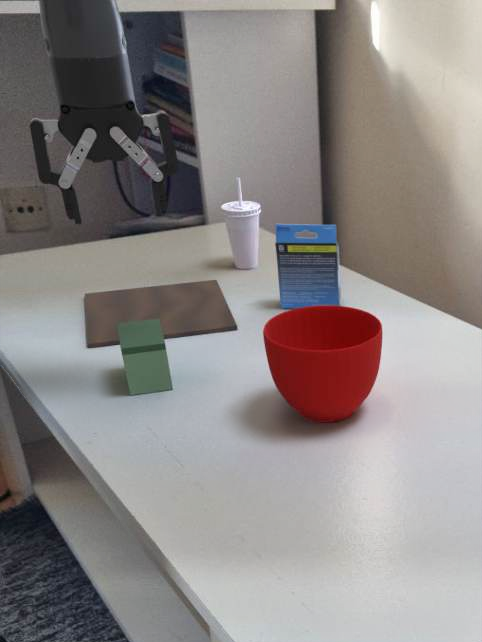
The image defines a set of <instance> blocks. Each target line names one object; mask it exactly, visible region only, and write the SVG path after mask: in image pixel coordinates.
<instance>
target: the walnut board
mask: <svg viewBox="0 0 482 642" xmlns="http://www.w3.org/2000/svg"><path fill="white" fill-rule="evenodd" d="M84 302H85V303H84V307H85V321H86V322H85V324H86V325H85V326H86V344H87V348H88V349H91V348H99V347H107V346H115V345H120V339H119V331H118V323H125V322H134V321H142V320H151V319H159V321H160V325H161V329H162V333H163V337H164V340H165V339H173V338H182V337H190V336H198V335H204V334H213V333H223V332H229V331H237V330H239V329H238V325H237V322H236V320H235V318H234V315H233V313H232V311H231V309H230V307H229V305H228V302H227V299H226V297H225V295H224V293H223V291H222V289H221V286H220V285H219V281H218V280H217V279H210V280H200V281H199V280H197V281H190V282H180V283H171V284H162V285H161V284H160V285H152V286H143V287H142V286H141V287H134V288H126V289H125V288H124V289H115V290H105V291H96V292H95V291H94V292H88V293H84Z"/></svg>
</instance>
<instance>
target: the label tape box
mask: <svg viewBox="0 0 482 642" xmlns="http://www.w3.org/2000/svg"><path fill="white" fill-rule="evenodd" d="M274 228H275V229H274V231H275V232H274V233H275V243H274V244H275V254H276V264H277V266H276V267H277V276H278V277H277V278H278V279H277V280H278V291H279V303H280V308H281V309H284V310H285V309H287V310H293V309H297V308H302V307H308V306H321V305H333V306H341V300H342V299H341V297H342V296H341V295H342V289H341V263H340V262H341V261H340V247H339V243H338V242H337V224H310V223H309V224H307V223H306V224H303V223H274ZM304 232H307V233H308V234H314V235H315V237H301V236H300V237H298V236H296V234H303V233H304Z"/></svg>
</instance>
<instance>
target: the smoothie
mask: <svg viewBox="0 0 482 642" xmlns="http://www.w3.org/2000/svg"><path fill="white" fill-rule="evenodd" d="M235 180H236V187H237V189H236V190H237V198H238V200H235V201H229V202H226V203H224V204H222V205H221V206H220V211H221V212H220V214H221V215H222V216H223V218H224V223H225V227H226V232H227V237H228V239H229V244H230V248H231V252H232V253H231V254H232V257H233V261H234V265H235V268H236V269H239V270H252V269H255V268H257V267H258V266H259V237H260V236H259V235H260V234H259V232H260V214H261V213H262V209H261V204H260V203H259V202H256V201H252V200H243V195H242V185H241V178H240V177H236V179H235Z"/></svg>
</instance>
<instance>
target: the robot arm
mask: <svg viewBox="0 0 482 642" xmlns="http://www.w3.org/2000/svg"><path fill="white" fill-rule="evenodd" d="M38 3H39V4H38V6H39V14H40V15H39V16H40V24H41V30H42V35H43V45H44V48H45V50H46V53H47V58H48V63H49V68H50V72H51V76H52V82H53V86H54V91H55V96H56V100H57V104H58V105H57V106H58V109H59V115H58V117H57V119H43V118H40V117H38V116H34V117H32V118H31V120H30V122H29V130H30V135H31V140H32V141H31V142H32V146H33V153H34V158H35V163H36V168H37V175H38V179H39V181H40V183H41V184H43V185H53V186H56V187H57V188H59V191H60V192H61V196H62V200H63V203H64V209H65V214H66V216H67V218H68V219H69V220H74V224H75V225H76V226H78V225H83V218H82V212H81V208H80V203H79V200H78V199H79V198H78V194H77V190H76V184H73V182H74V180H75V179H76V176H77V175H78V172H79V171H80V169H81V168H82V166H83V163H84V162H85V160H87V161H89V162H92V163H93V164H97V163H103V162H105V161H113V162H124V161H125V159H127V158H129V157H130V158H131V159H132V160H133V161H134V162H135V163H136V164H137V165H138V166H139V167H140V168H142V170H143V171H144V172H145V173H146V174H147V175H148V176H149V177H150V178H149V185H150V191H151V199H152V203H153V210H154V214H155V217H156V218H163V216H164V215H163V212H166V211H168V201H167V194H166V187H165V186H166V185H165V180H166V179H167V178H168V177H169V176H172V175H176V174H178V173H179V171H180V166H179V165H180V164H179V161H178V156H177V150H176V145H175V140H174V135H173V131H172V126H171V121H170V117H169V116H168V114H167V112H166V111H165V110H163V109H158V110H157V111H156V112H154V113H146V114H142V113H140V112H139V109H138V108H137V103H136V97H135V92H134V86H133V80H132V74H131V68H130V67H131V66H130V62H129V61H130V60H129V56H128V50H127V46H128V44H127V39H126V37H125V31H124V26H123V21H122V17H121V13H120V10H119V7H118V3H117V0H38ZM144 127H148V128H149V129H150V131H151V133H152V134H153V135H154V136H155V137H159V139H160V144H161V149H162V153H163V154H162V155H163V159H164V161H162V162H159V163H158V164H157V163H156V162H155V161H154V160H153V159H152V157H151V156H149V154H148V153H147V151H146V150H145V149H144V148H142V146H141V145H140V144H139V143H138V140H139V138H140V136H141V134H142V132H143V131H144ZM56 132H59V133H60V135H61V136H62V137H63V138H65V139H66V141H67V142H68V143H69V144H70V145H71V146H72V147H71V149H70V150H69V151H70V152H69V153H68V155H67V157H66V160H65V162H64V164H63V166H62V168H61V170H60V171H59V170H56V169H52V167H51V161H50V155H49V149H48V144H50V143H52V142H53V140H54V136H55V133H56Z"/></svg>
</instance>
